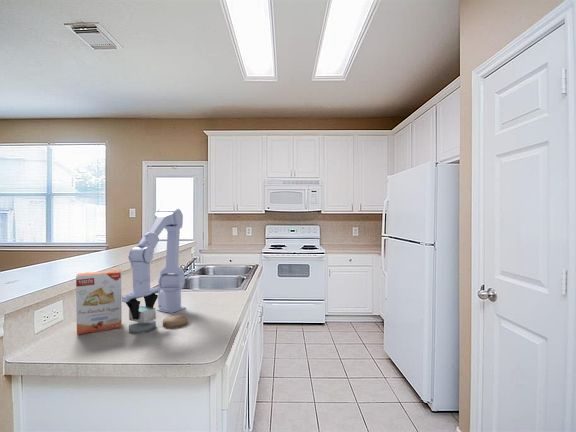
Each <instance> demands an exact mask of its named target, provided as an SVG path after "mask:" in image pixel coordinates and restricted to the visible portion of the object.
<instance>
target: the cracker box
mask: <svg viewBox="0 0 576 432" xmlns="http://www.w3.org/2000/svg"><path fill="white" fill-rule="evenodd" d="M75 281H76V282H75V285H76V286H75V289H76V290H75V293H76V294H75V296H76V299H75V300H76V301H75V303H76V305H75V306H76V310H75V311H76V335H82V334H90V333H93V332H94V333H96V332H101V331H107V330H108V331H109V330H114V329H115V330H116V329H121V328H122V322H123V321H122V320H123V319H122V313H123V312H122V311H123V310H122V306H123V305H122V270H119V269H118V270H103V271H94V272H93V271H91V272H81V273H78V274H77V275H76V276H75Z"/></svg>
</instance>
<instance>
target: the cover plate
mask: <svg viewBox="0 0 576 432" xmlns="http://www.w3.org/2000/svg"><path fill="white" fill-rule="evenodd" d="M147 310H150V309H149V308H144V307H139V311H143V312H144V311H147Z"/></svg>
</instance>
